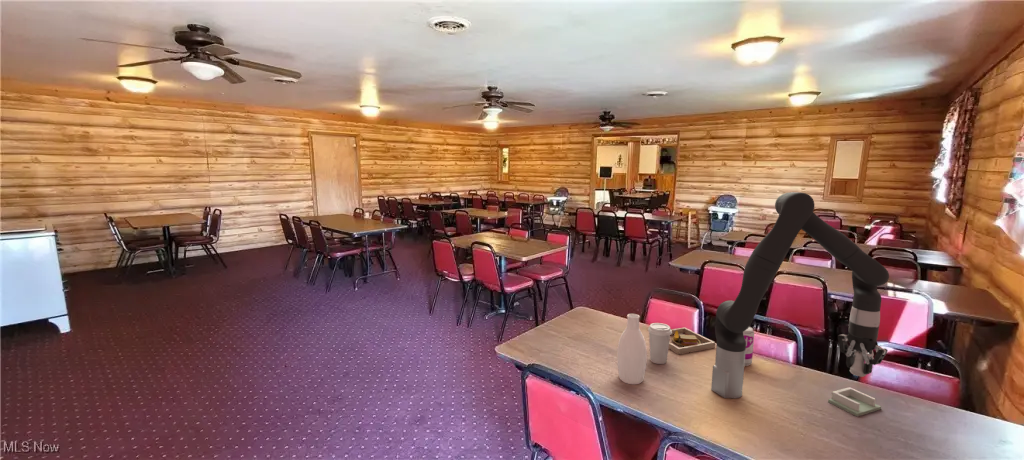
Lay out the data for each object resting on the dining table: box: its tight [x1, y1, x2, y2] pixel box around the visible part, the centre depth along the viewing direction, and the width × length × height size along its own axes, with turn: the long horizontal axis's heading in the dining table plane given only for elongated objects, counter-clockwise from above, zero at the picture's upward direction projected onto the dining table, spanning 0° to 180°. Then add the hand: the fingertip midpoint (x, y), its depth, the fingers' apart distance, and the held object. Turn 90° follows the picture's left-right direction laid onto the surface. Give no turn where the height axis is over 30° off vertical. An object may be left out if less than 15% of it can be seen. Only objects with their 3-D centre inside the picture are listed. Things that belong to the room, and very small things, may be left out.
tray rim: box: [668, 326, 716, 355], centre depth 192 cm, size 20×19×2 cm
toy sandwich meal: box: [671, 330, 702, 347], centre depth 192 cm, size 12×14×5 cm
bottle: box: [616, 313, 648, 385], centre depth 158 cm, size 11×11×25 cm
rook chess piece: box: [849, 350, 867, 378], centre depth 139 cm, size 4×4×8 cm
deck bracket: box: [827, 386, 882, 417], centre depth 141 cm, size 12×9×4 cm
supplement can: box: [743, 326, 755, 367], centre depth 172 cm, size 8×8×15 cm
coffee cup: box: [647, 322, 672, 365], centre depth 174 cm, size 10×10×15 cm
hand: (858, 370), depth 139 cm, fingers closed on rook chess piece, 4 cm apart
